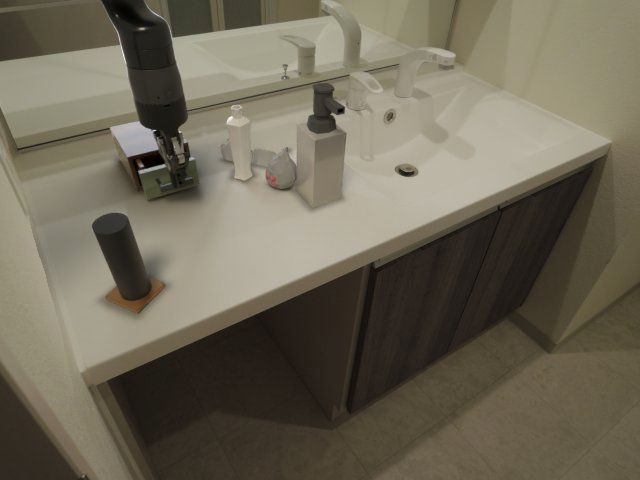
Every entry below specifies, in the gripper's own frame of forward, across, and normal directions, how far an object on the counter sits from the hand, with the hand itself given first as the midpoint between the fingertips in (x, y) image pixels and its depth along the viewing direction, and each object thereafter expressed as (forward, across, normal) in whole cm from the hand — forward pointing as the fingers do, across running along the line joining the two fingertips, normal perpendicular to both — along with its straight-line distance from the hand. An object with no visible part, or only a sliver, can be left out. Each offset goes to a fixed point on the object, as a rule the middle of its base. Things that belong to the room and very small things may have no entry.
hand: (179, 185), depth 75 cm
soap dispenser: (+5, +10, +24) cm, 27 cm away
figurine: (+5, +3, +20) cm, 20 cm away
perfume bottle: (+5, -5, +15) cm, 16 cm away
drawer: (+4, -9, 0) cm, 10 cm away
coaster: (+5, +17, -13) cm, 22 cm away
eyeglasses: (+5, -11, +20) cm, 24 cm away
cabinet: (+5, -17, 0) cm, 17 cm away
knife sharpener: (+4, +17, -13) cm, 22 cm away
